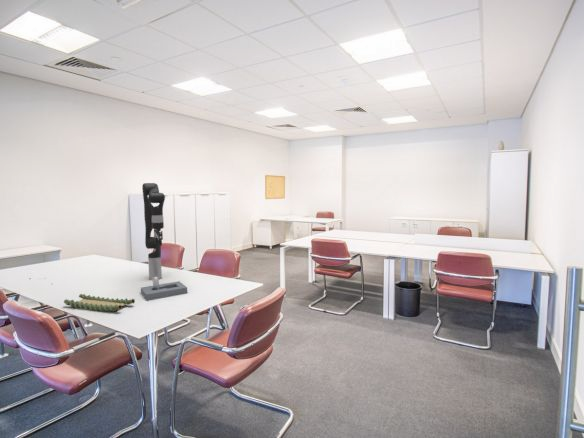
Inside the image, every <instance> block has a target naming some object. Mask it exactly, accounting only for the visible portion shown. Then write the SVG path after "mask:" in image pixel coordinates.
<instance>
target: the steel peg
mask: <svg viewBox="0 0 584 438" xmlns="http://www.w3.org/2000/svg"><path fill="white" fill-rule="evenodd" d="M159 282H160V279H159V277H158V276H156V277H153V280H152V286H153V290H158V289H159V284H160V283H159Z"/></svg>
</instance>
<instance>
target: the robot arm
mask: <svg viewBox="0 0 584 438" xmlns="http://www.w3.org/2000/svg"><path fill="white" fill-rule="evenodd" d="M165 195H166V194H164V193H163V192H160V189H159V186H158V183H155V182H151V183H150V182H145V183H143V184H142V199H143V207H144V208H143V211H144V216H143V217H144V225H145V228H144V229H145V234H144V235H145V239H144V240H145V241H144V243H145V247H146V249H148V250H149V249H151V250H154V249H155V250H154V251H152V252H150V253H148V256H147V257H148V258H147V261H148V263H147V264H148V278H149V280H151V281H153V277H156V276H158V277H159V280H160V279H162V278H163V277H162V275H163V274H162V256H161V255H162V251H161V250H162V246H163V242H162V240H164V237H163V236H164V235H163V230H162V229H164V228H165V226H164V214H163V213H164V211H163V210H164V209H163V208H164V204H165V200H166V196H165ZM153 204H158V205H156V206H154V205H153ZM152 231H153V236H152V235H151V234H152Z"/></svg>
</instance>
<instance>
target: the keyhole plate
mask: <svg viewBox="0 0 584 438" xmlns="http://www.w3.org/2000/svg"><path fill="white" fill-rule="evenodd" d="M187 293H188V287H187V286H186V285H185V284H183V283H182V282H181V281H180V280H179V281H172V282H166V283H159V289H158V290H153V285H148V286H147V285H146V286H141V287H140V294H141V295H142V297H143V298H144V299H145V301H152V300H158V299H162V298H168V297H174V296H179V295H184V294H187Z"/></svg>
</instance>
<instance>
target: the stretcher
mask: <svg viewBox="0 0 584 438" xmlns="http://www.w3.org/2000/svg"><path fill="white" fill-rule="evenodd" d="M78 298H80V300H76V301H74V299H71V300H69V299H67V298H65V299H64V301H63V303H64V304H65V306H67V307H68V306H70V307H71V308H75V309H82V310H87V311H88V310H90V311H97V312H98V311H99V310H100V312H105V311H106V312H115V311H117V310H118V311H119V310H122V308H123V307H124V306H125V305H127V306H128V305H132V304H134V303H136V302H135V299H134V298H131V299H128V298H127V297H126V298H124V299H123V298H120V299H119V298H118V297H117V298H116V299H115V298H111V299H110V298H109V297H106V298H105V297H100V295H99V296H97V297H96V296H95V295H92V296H91V295H90V294H88V295H86V294H85V293H83V294H82V293H80V294H79V295H78Z"/></svg>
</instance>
